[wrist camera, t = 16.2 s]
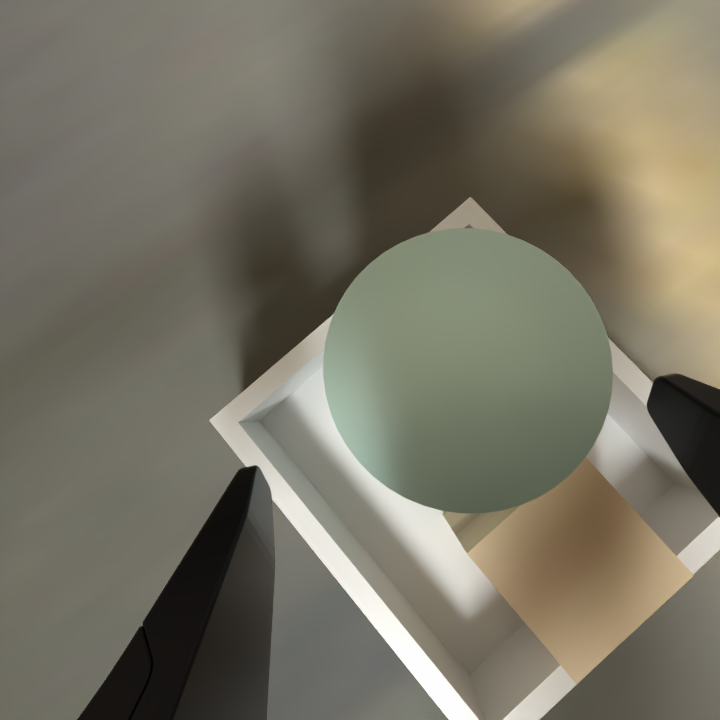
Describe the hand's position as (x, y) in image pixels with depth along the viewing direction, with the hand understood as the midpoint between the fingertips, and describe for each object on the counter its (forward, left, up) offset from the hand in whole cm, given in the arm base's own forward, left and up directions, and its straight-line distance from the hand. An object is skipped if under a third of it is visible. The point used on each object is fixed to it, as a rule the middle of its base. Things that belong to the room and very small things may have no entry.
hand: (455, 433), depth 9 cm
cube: (-6, -1, -10) cm, 12 cm away
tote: (-2, -1, -10) cm, 11 cm away
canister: (+1, -1, -10) cm, 10 cm away
